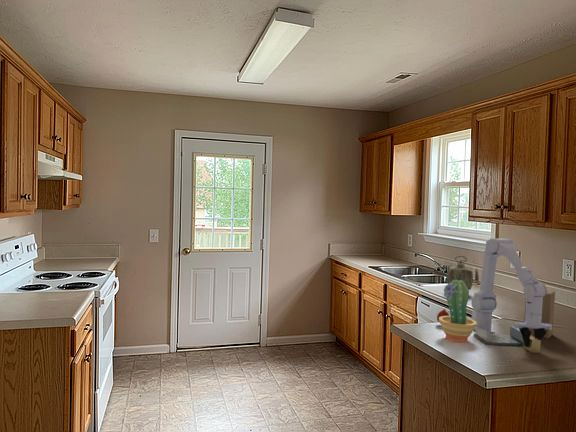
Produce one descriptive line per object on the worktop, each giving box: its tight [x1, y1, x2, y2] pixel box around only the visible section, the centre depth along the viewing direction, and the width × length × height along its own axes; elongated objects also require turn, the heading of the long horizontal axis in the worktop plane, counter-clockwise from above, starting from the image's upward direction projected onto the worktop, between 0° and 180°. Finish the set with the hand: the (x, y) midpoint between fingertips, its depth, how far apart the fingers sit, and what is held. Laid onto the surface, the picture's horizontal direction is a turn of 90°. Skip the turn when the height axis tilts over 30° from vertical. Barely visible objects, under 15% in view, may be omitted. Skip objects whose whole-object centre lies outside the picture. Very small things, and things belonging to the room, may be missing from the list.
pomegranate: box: [436, 308, 450, 325], centre depth 213 cm, size 6×6×8 cm
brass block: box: [522, 335, 542, 354], centre depth 181 cm, size 6×4×5 cm, turn 1°
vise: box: [473, 325, 523, 347], centre depth 192 cm, size 12×18×5 cm, turn 91°
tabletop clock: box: [446, 255, 474, 291], centre depth 289 cm, size 14×9×25 cm, turn 82°
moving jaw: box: [509, 325, 523, 342], centre depth 192 cm, size 10×2×4 cm, turn 1°
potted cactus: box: [438, 280, 477, 343], centre depth 192 cm, size 15×15×25 cm
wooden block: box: [523, 289, 556, 340], centre depth 204 cm, size 10×10×20 cm
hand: (531, 346), depth 181 cm, fingers closed on brass block, 3 cm apart
